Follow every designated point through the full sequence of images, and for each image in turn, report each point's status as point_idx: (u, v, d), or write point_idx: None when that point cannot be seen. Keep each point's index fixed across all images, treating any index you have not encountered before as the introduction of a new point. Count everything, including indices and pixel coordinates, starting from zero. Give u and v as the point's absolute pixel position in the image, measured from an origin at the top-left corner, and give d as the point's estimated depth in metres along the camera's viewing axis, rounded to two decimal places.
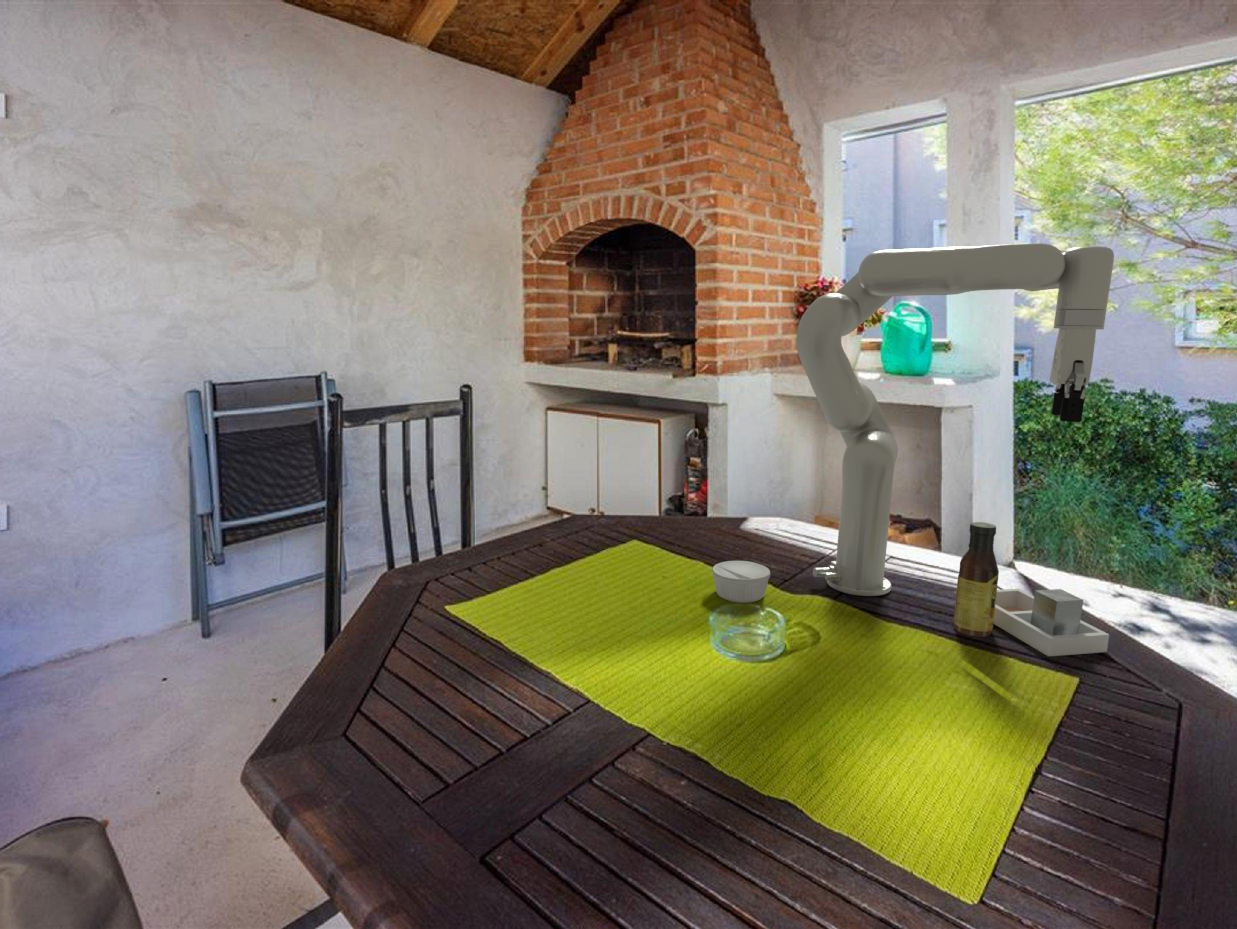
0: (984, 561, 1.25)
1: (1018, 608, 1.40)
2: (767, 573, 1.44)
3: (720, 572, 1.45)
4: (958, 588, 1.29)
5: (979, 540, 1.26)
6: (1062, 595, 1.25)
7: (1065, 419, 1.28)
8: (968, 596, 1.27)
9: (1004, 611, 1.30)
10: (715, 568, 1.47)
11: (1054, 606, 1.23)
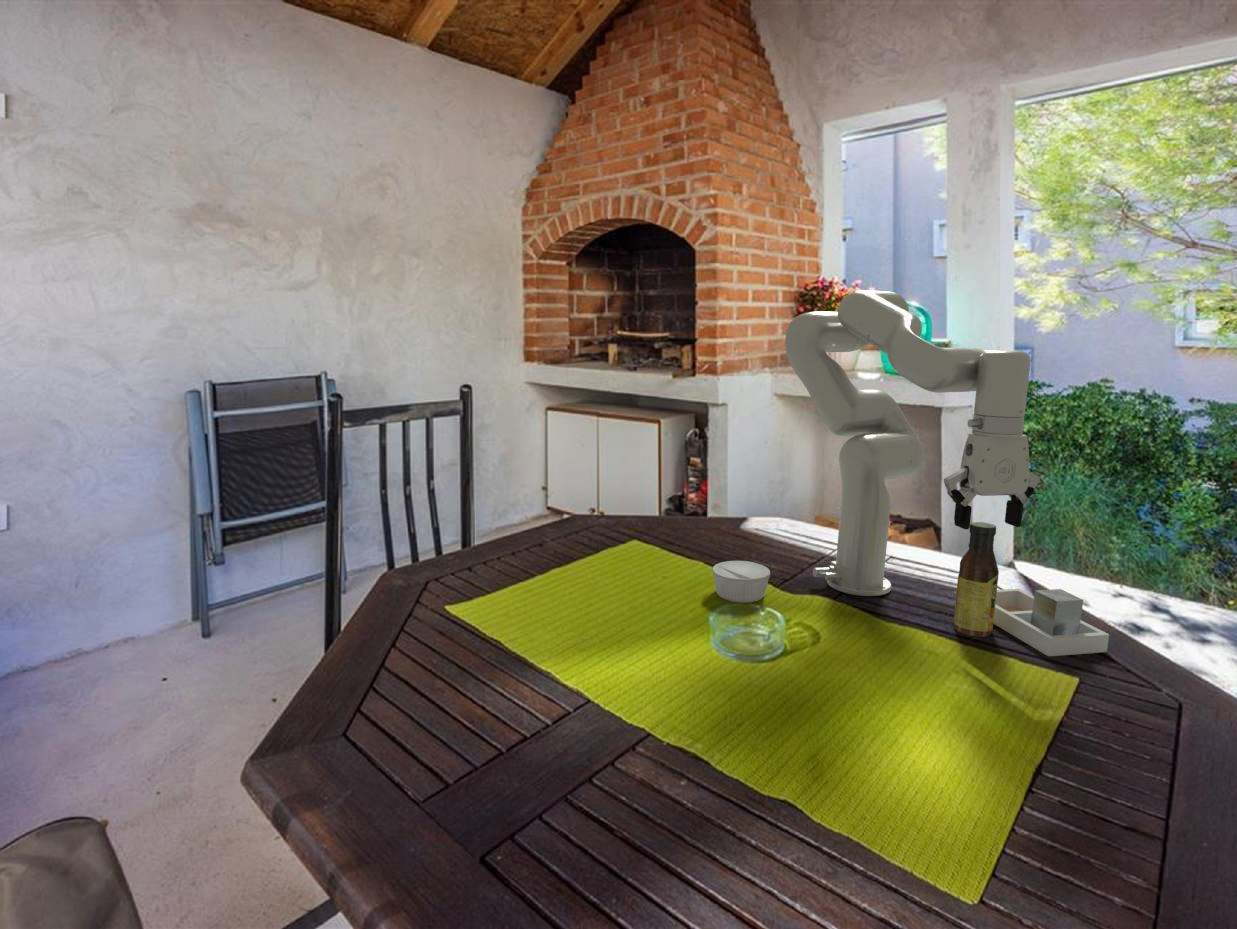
0: (984, 561, 1.25)
1: (1018, 608, 1.40)
2: (767, 573, 1.44)
3: (720, 572, 1.45)
4: (958, 588, 1.29)
5: (979, 540, 1.26)
6: (1062, 595, 1.25)
7: None
8: (968, 596, 1.27)
9: (1004, 611, 1.30)
10: (715, 568, 1.47)
11: (1054, 606, 1.23)
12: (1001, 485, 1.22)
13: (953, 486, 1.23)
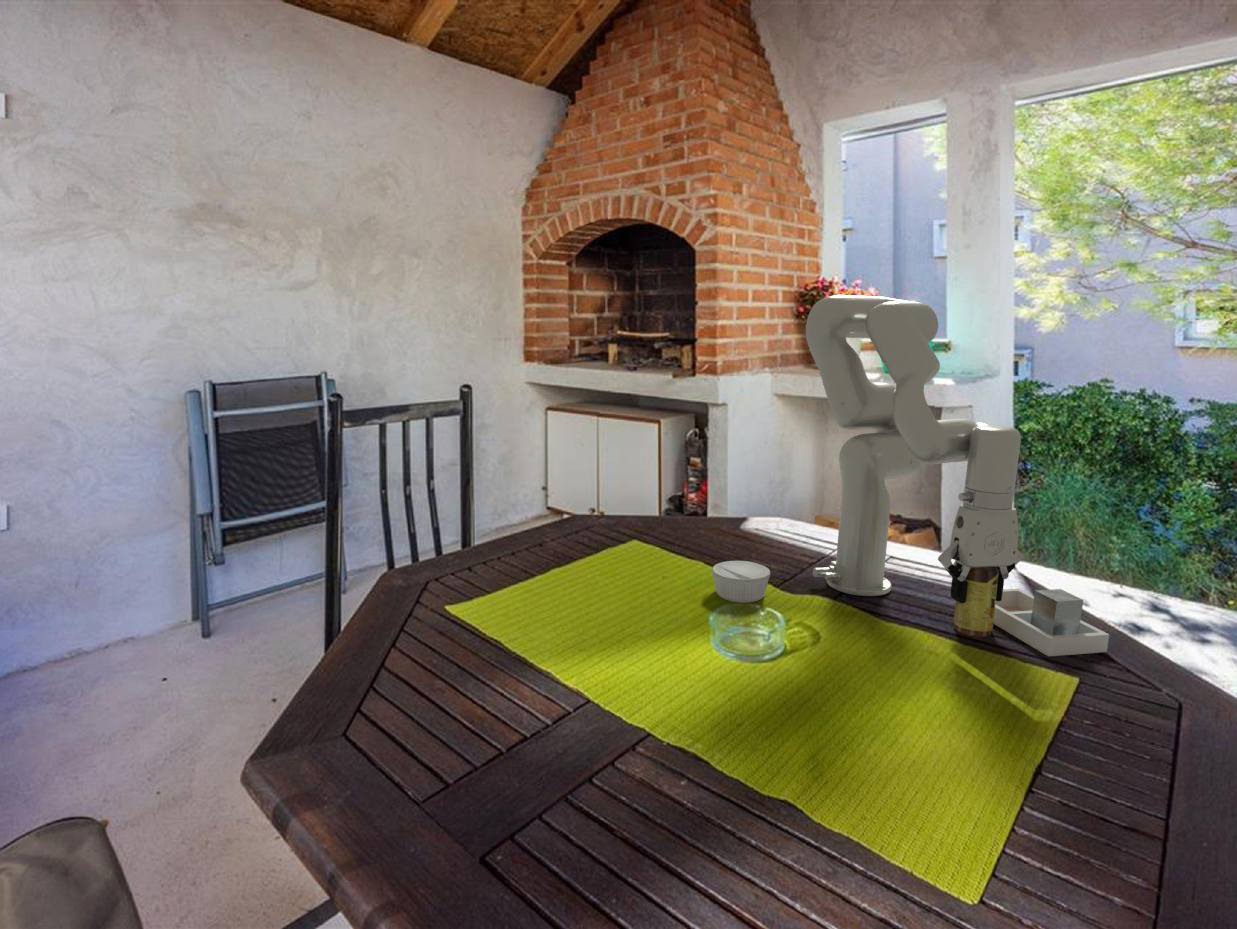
0: None
1: (1018, 608, 1.40)
2: (767, 573, 1.44)
3: (721, 572, 1.45)
4: None
5: None
6: (1062, 595, 1.25)
7: None
8: (968, 596, 1.27)
9: (1004, 611, 1.30)
10: (715, 568, 1.47)
11: (1054, 606, 1.23)
12: (990, 557, 1.25)
13: (948, 563, 1.26)
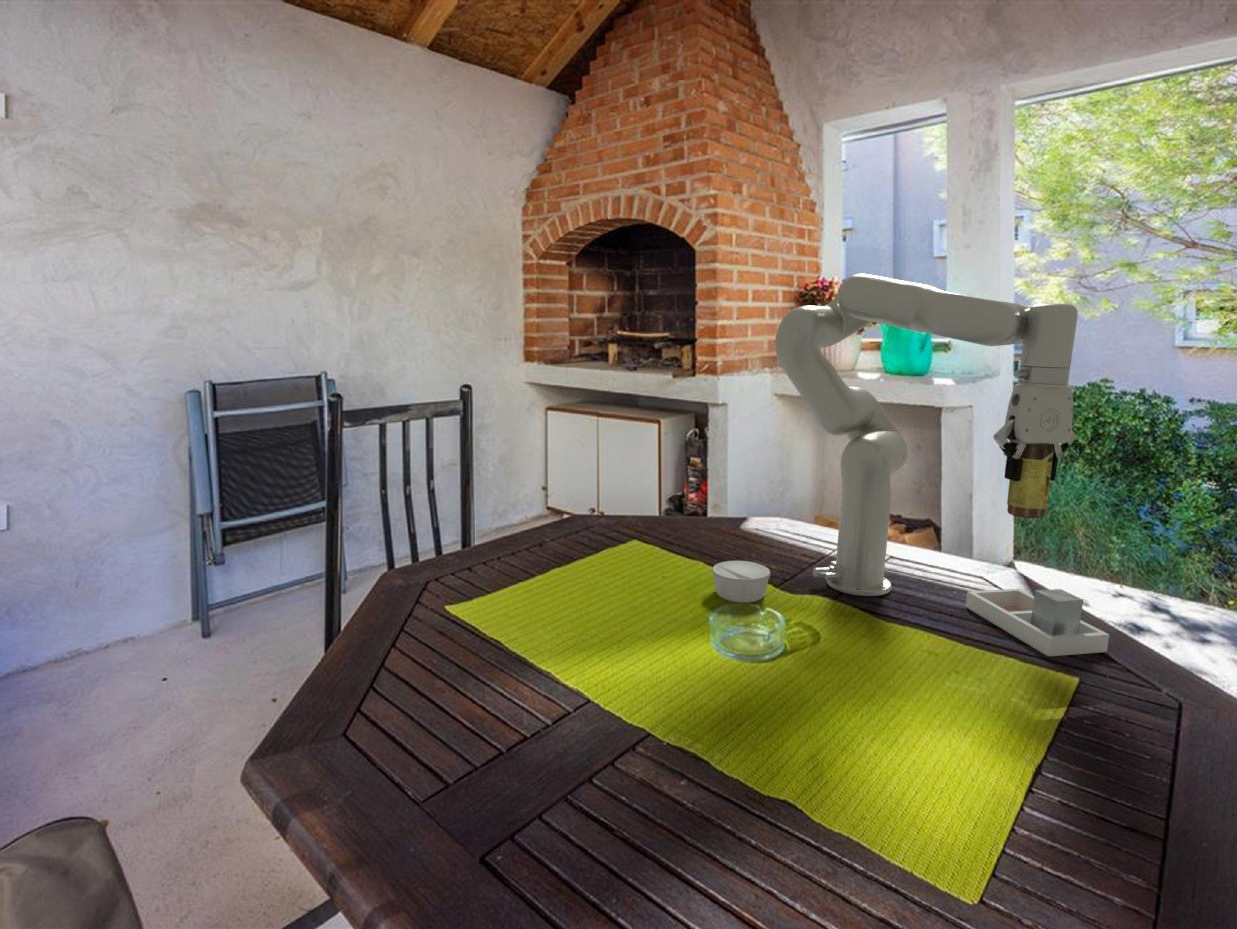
0: None
1: (1018, 608, 1.40)
2: (767, 573, 1.44)
3: (720, 572, 1.45)
4: None
5: None
6: (1062, 595, 1.25)
7: None
8: (1023, 474, 1.29)
9: (1004, 611, 1.30)
10: (715, 568, 1.47)
11: (1054, 606, 1.23)
12: (1046, 434, 1.27)
13: (1004, 441, 1.28)
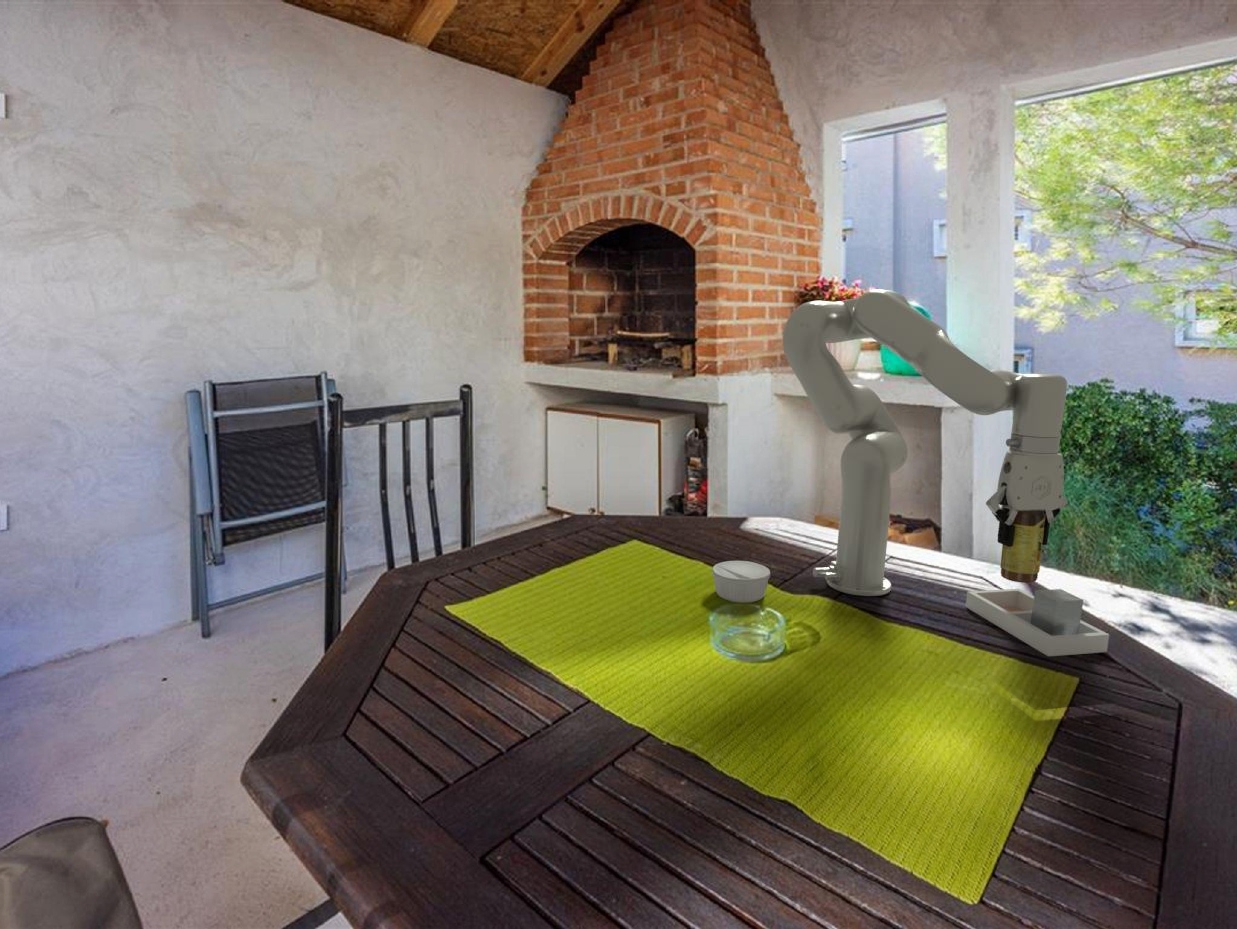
0: None
1: (1018, 608, 1.40)
2: (767, 573, 1.44)
3: (720, 572, 1.45)
4: None
5: None
6: (1062, 595, 1.25)
7: None
8: (1015, 540, 1.31)
9: (1004, 611, 1.30)
10: (715, 568, 1.47)
11: (1054, 606, 1.23)
12: (1037, 501, 1.29)
13: (996, 507, 1.30)
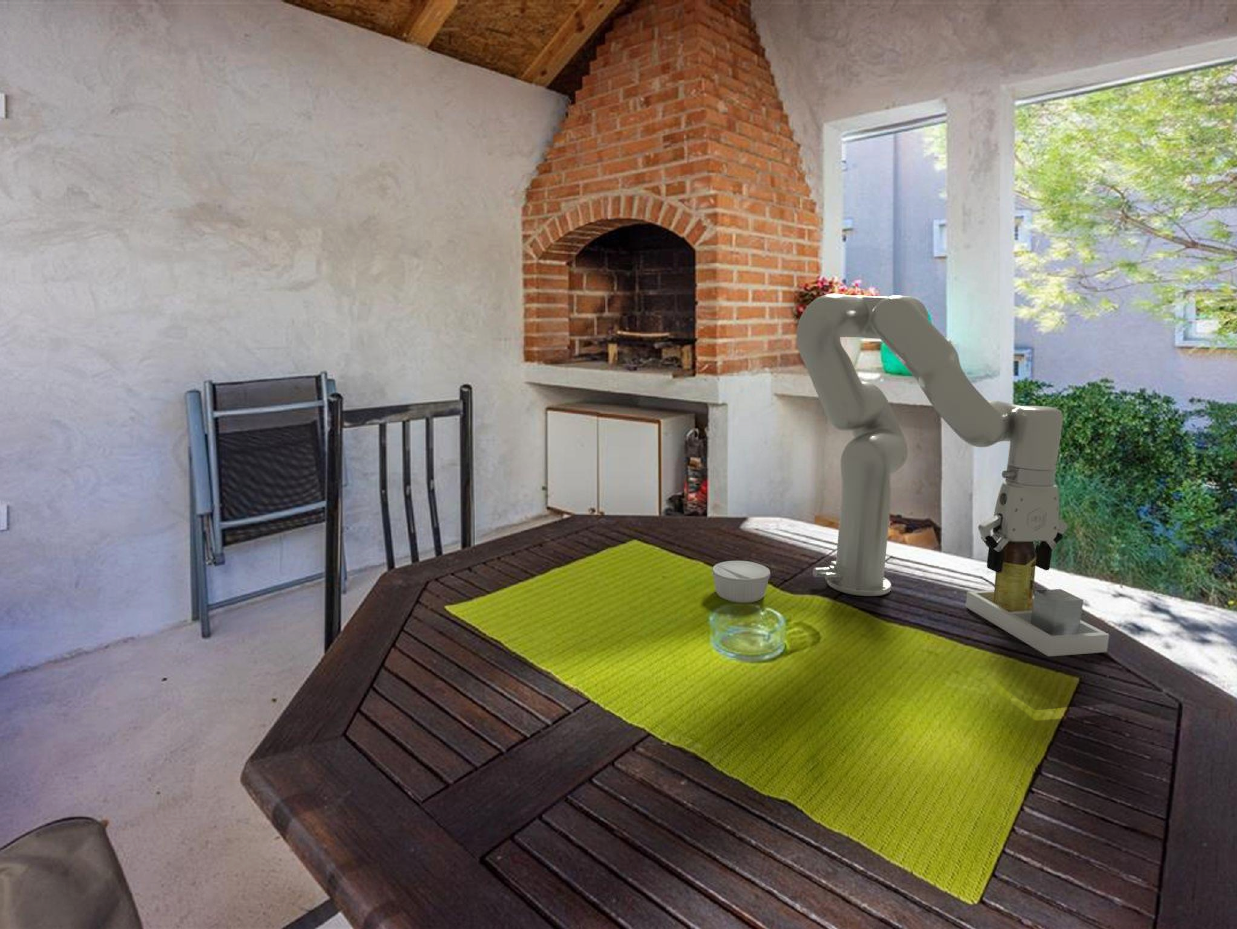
0: (1022, 545, 1.31)
1: None
2: (767, 573, 1.44)
3: (720, 572, 1.45)
4: None
5: None
6: (1062, 595, 1.25)
7: None
8: (1007, 578, 1.33)
9: (1004, 611, 1.30)
10: (715, 568, 1.47)
11: (1054, 606, 1.23)
12: (1032, 532, 1.30)
13: (987, 533, 1.31)
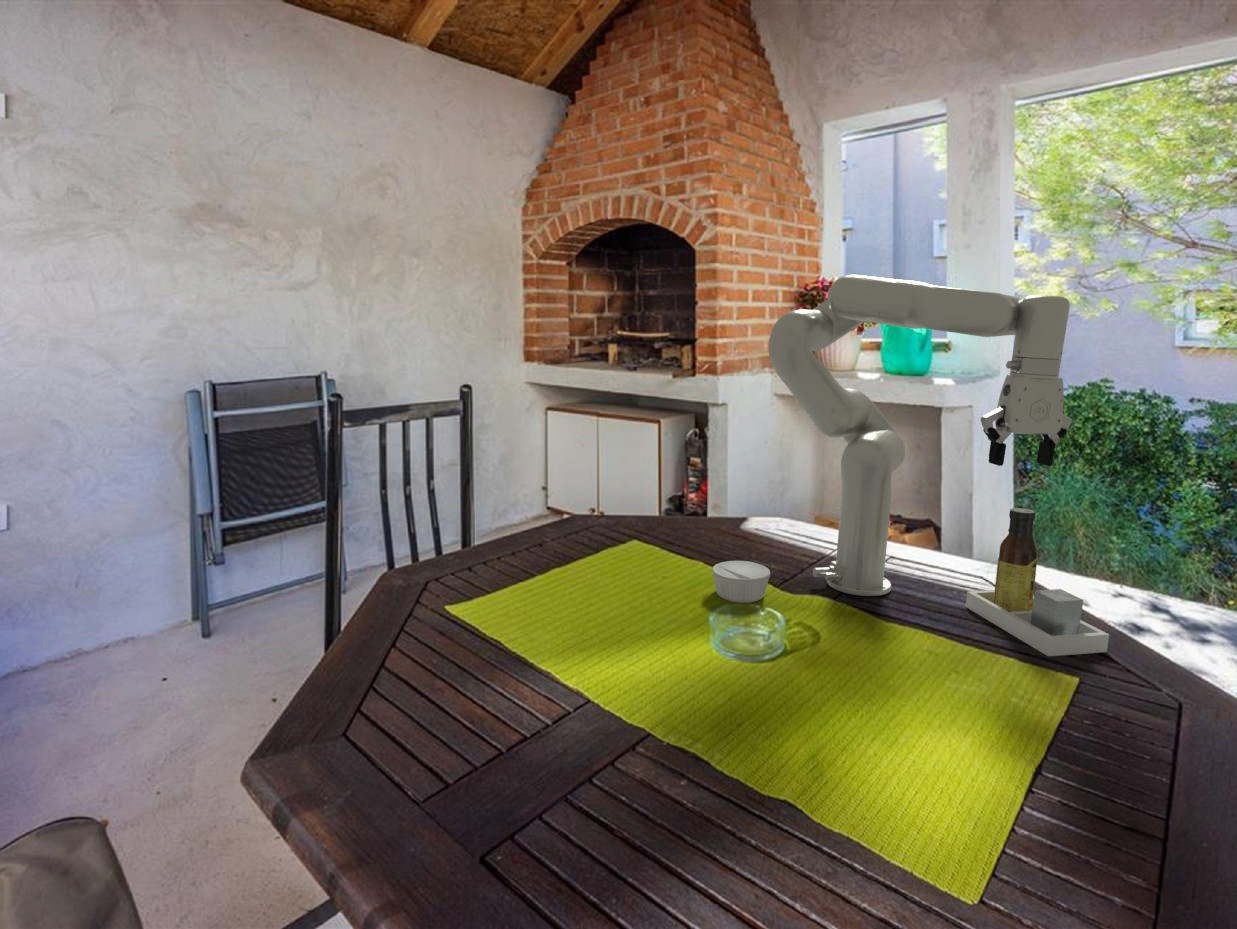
0: (1024, 545, 1.31)
1: None
2: (767, 573, 1.44)
3: (721, 572, 1.45)
4: (998, 571, 1.35)
5: (1019, 525, 1.32)
6: (1062, 595, 1.25)
7: None
8: (1008, 579, 1.33)
9: (1004, 611, 1.30)
10: (715, 568, 1.47)
11: (1054, 606, 1.23)
12: (1035, 424, 1.29)
13: (989, 424, 1.30)
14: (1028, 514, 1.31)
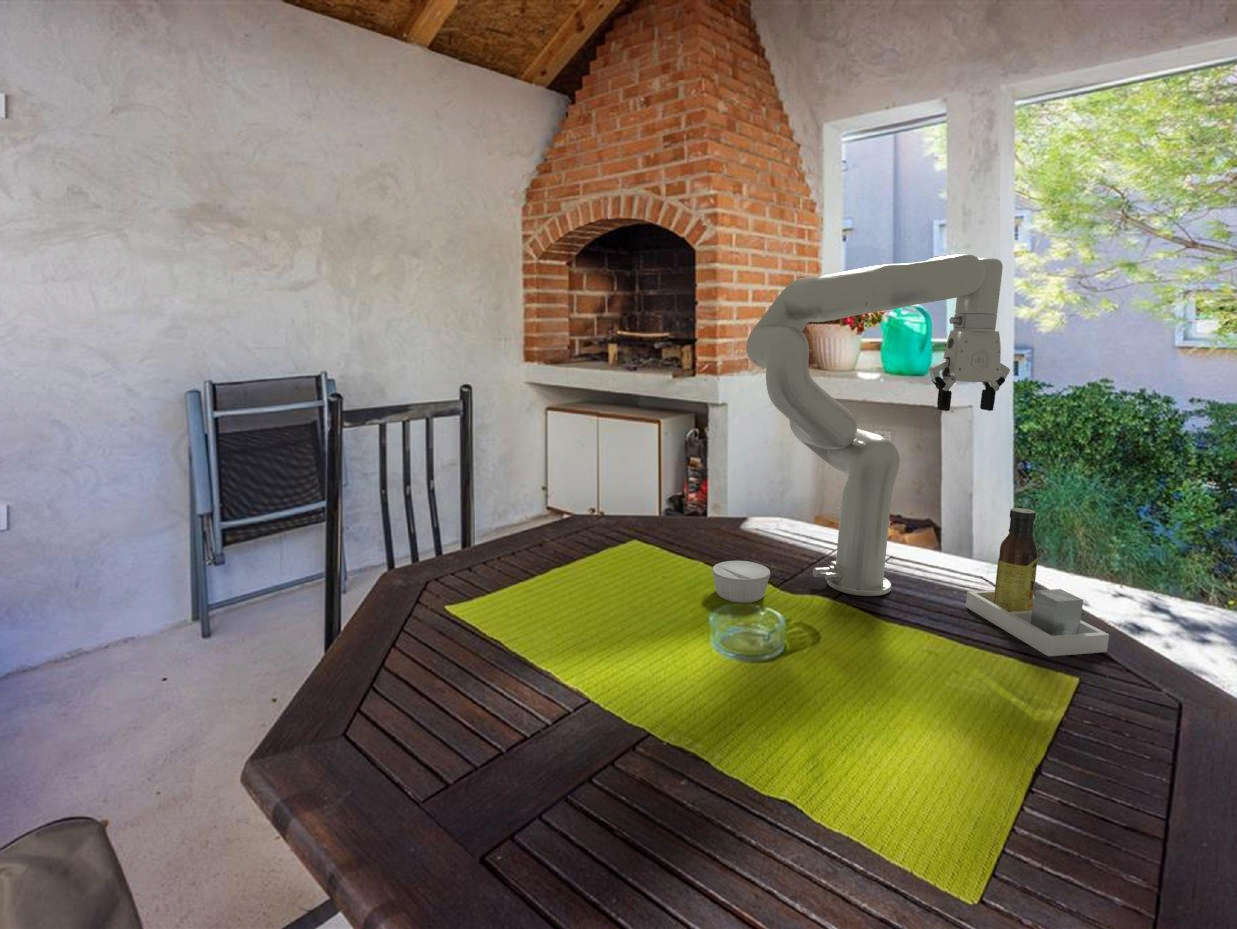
0: (1024, 545, 1.31)
1: None
2: (767, 573, 1.44)
3: (720, 572, 1.45)
4: (998, 571, 1.35)
5: (1019, 525, 1.32)
6: (1062, 595, 1.25)
7: None
8: (1008, 579, 1.33)
9: (1004, 611, 1.30)
10: (715, 568, 1.47)
11: (1054, 606, 1.23)
12: (976, 373, 1.45)
13: (936, 374, 1.46)
14: (1028, 514, 1.31)
